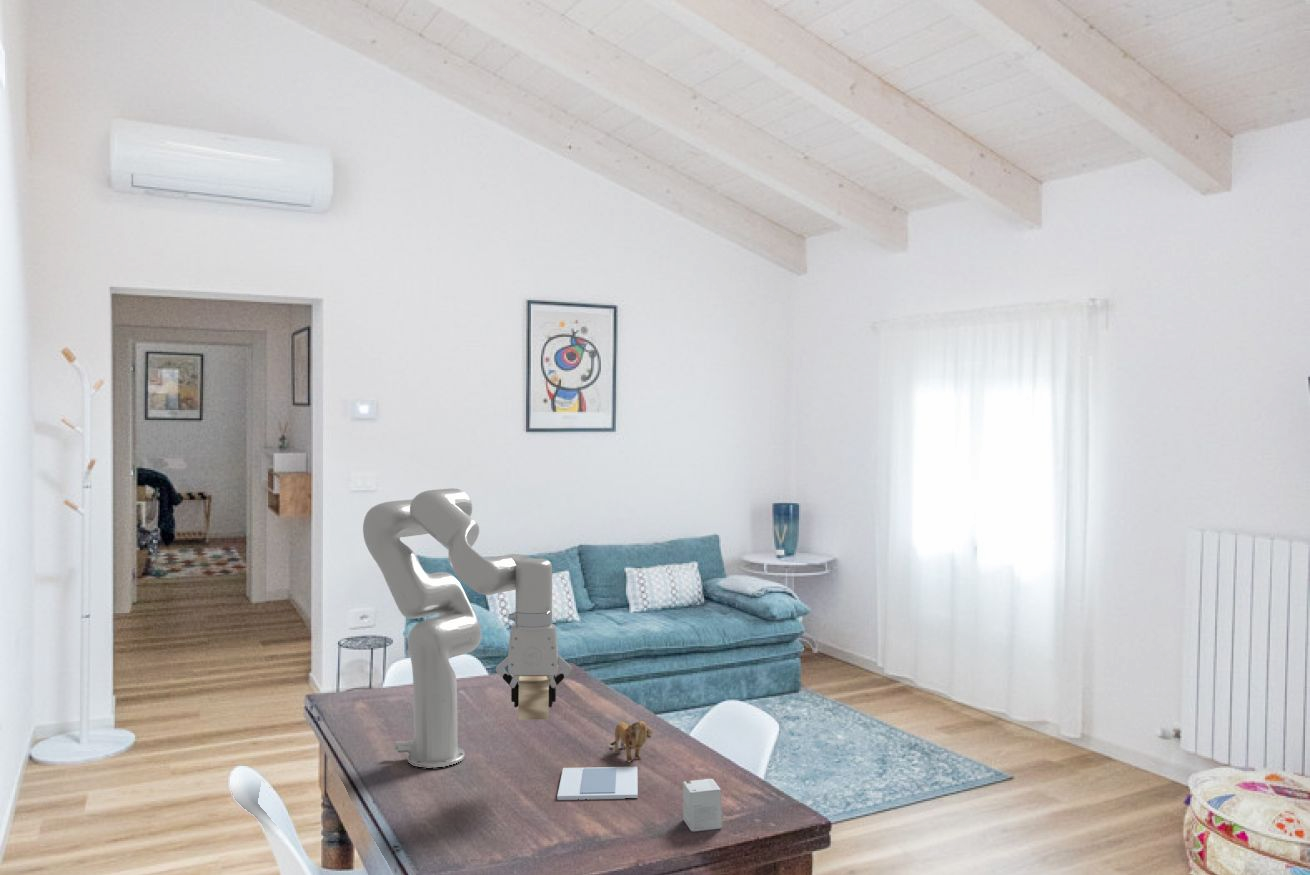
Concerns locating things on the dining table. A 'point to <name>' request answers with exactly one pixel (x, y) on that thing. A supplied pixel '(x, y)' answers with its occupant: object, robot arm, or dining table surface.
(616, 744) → the lion figurine
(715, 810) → the skincare box
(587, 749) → the dining table surface
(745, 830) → the dining table surface
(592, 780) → the board
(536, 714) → the oak block
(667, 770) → the dining table surface
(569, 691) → the dining table surface
